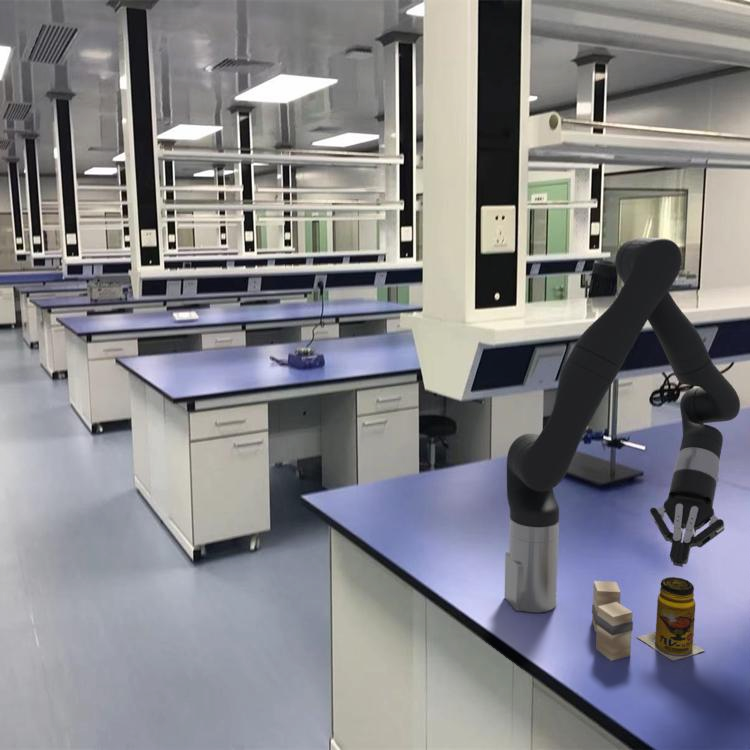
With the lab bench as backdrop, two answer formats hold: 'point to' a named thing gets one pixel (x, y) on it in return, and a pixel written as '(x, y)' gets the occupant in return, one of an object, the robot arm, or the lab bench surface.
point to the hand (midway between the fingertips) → (677, 564)
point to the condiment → (674, 620)
